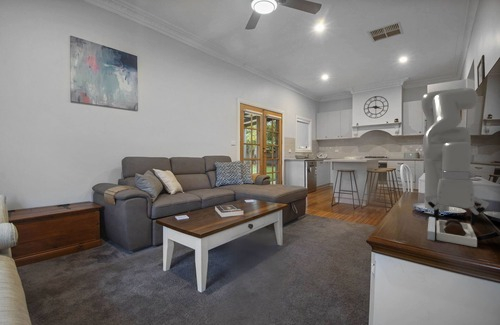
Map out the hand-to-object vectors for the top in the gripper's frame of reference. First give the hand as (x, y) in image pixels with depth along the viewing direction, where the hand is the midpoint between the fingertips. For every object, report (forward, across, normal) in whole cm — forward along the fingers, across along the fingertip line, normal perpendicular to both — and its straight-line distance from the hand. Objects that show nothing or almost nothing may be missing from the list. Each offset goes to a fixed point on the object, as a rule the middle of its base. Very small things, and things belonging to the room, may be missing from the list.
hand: (454, 222), depth 83 cm
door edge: (+5, +6, 0) cm, 8 cm away
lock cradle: (+5, 0, 0) cm, 5 cm away
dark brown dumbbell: (+4, 0, 0) cm, 4 cm away
